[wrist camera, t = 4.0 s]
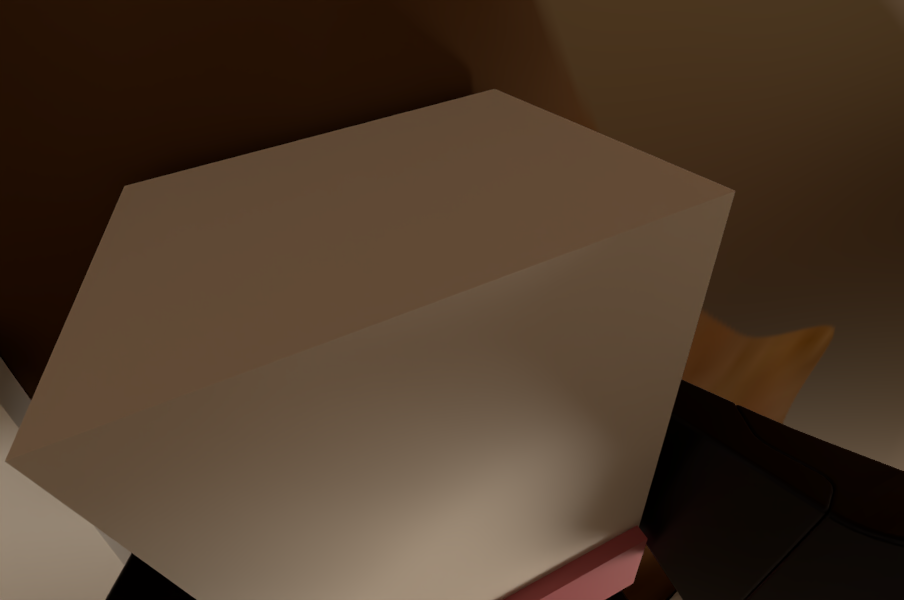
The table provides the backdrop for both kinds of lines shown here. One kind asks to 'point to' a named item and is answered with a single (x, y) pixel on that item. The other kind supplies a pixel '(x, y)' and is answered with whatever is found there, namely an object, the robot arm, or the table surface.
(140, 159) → the table surface
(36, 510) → the grey mat
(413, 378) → the card box
